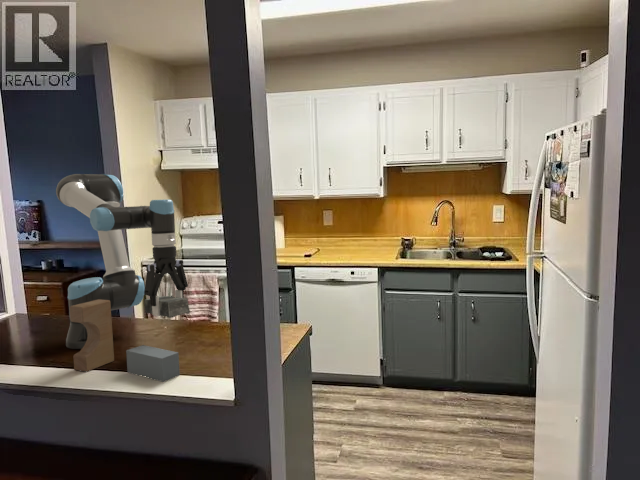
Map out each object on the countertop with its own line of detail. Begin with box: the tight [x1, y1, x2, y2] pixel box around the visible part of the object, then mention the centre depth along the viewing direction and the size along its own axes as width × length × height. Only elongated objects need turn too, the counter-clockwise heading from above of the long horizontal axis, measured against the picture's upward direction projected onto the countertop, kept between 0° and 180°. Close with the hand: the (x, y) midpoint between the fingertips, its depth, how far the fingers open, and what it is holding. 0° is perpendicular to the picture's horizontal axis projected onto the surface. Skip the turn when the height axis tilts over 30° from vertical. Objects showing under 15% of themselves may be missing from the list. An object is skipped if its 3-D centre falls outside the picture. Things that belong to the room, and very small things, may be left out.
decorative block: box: [69, 299, 115, 372], centre depth 153 cm, size 11×6×20 cm, turn 154°
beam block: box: [125, 344, 181, 383], centre depth 145 cm, size 16×6×7 cm, turn 58°
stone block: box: [144, 295, 191, 319], centre depth 164 cm, size 9×14×5 cm, turn 50°
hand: (168, 312), depth 165 cm, fingers closed on stone block, 9 cm apart
